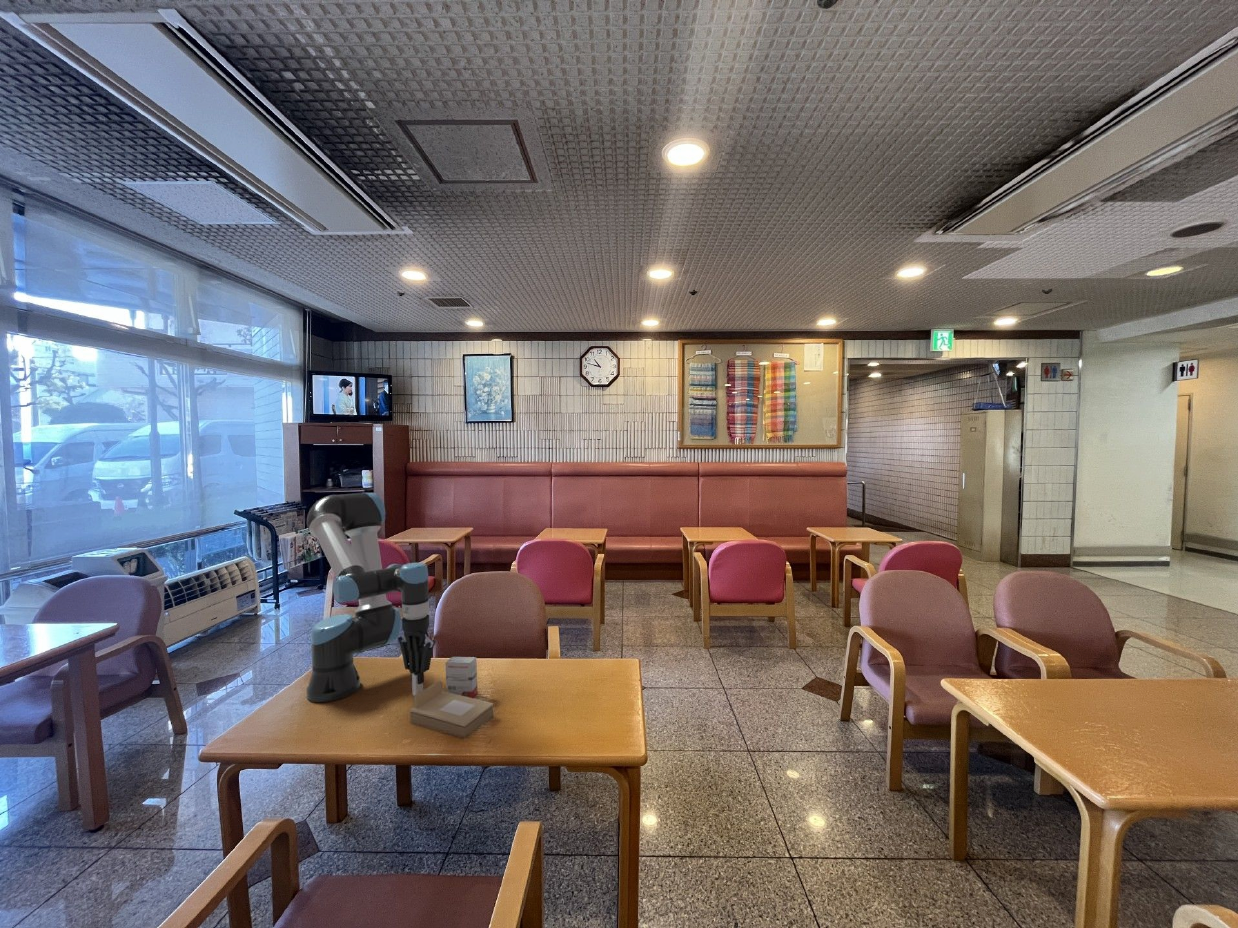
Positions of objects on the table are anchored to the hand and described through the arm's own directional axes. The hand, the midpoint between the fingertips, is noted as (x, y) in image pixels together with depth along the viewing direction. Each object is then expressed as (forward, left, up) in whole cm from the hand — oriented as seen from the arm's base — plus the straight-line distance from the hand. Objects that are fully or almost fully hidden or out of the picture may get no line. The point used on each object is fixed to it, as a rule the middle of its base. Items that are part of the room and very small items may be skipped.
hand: (417, 693), depth 148 cm
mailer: (+13, 0, -5) cm, 14 cm away
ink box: (+6, +12, -5) cm, 15 cm away
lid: (+13, 0, -2) cm, 13 cm away
